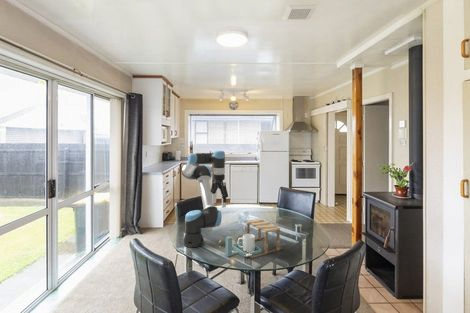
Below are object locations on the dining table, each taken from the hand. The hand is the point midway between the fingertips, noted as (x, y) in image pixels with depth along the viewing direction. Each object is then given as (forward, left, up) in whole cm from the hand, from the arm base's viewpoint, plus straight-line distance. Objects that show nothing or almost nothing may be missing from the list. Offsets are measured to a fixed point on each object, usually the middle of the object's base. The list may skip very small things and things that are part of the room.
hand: (218, 205), depth 177 cm
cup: (+9, +16, -32) cm, 37 cm away
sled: (+10, +12, -31) cm, 35 cm away
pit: (+10, +43, -32) cm, 54 cm away
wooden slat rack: (+10, +26, -32) cm, 42 cm away
